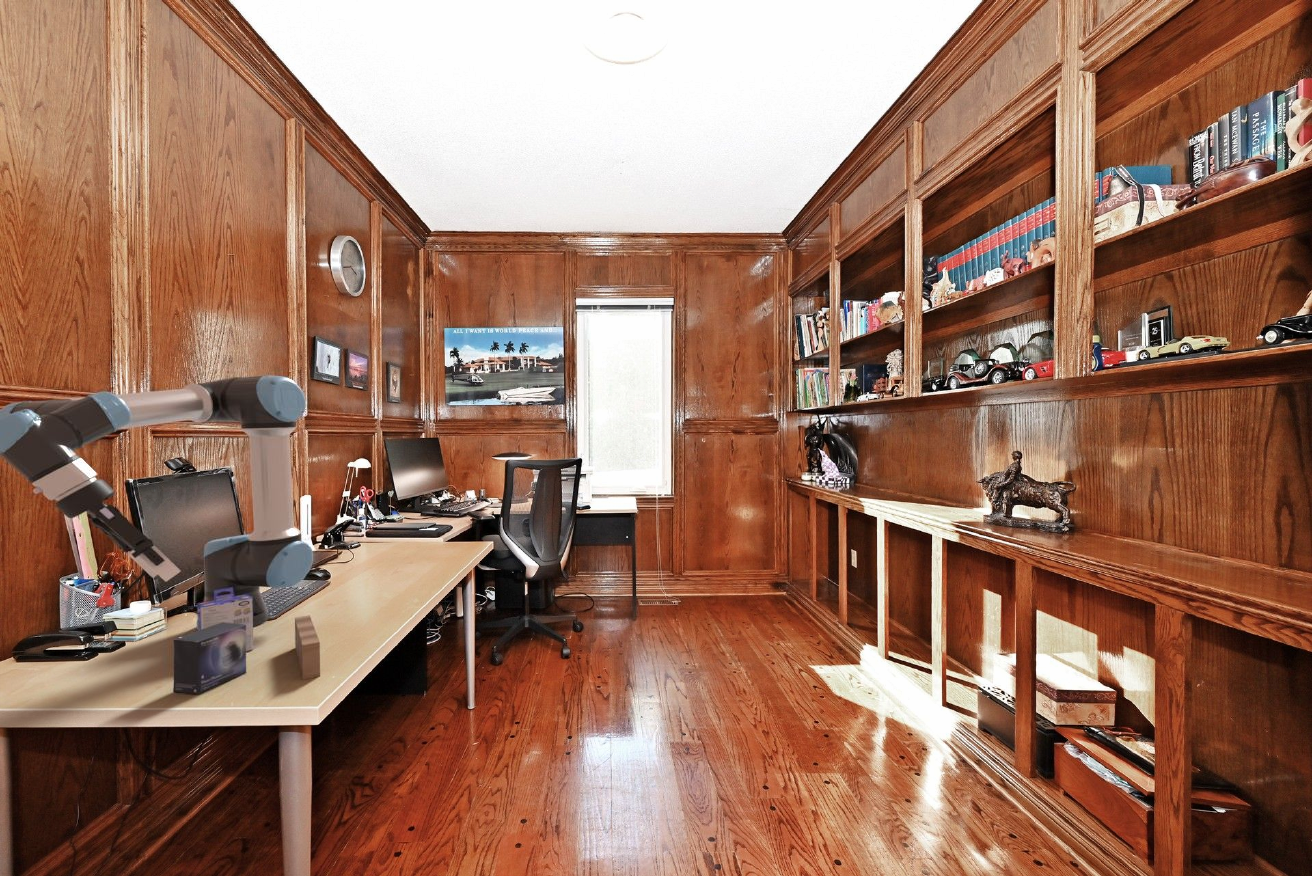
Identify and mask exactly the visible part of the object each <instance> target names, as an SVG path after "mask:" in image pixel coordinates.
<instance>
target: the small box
mask: <svg viewBox="0 0 1312 876" xmlns="http://www.w3.org/2000/svg"><path fill="white" fill-rule="evenodd" d="M172 641H173V690H172V692H173V693H180V694H181V693H182V694H191V695H200V694H202V693H205V692H207V691H209V690H212V689H214V688H216V687H218V686H220V685H223V684H225V683H228V682H229V681H231V680H234V679H237V678H238V677H240V676H243V675H246V674H247V651H246V625H245V624H234V623H226V622H222V623H219V624H216V625H213V626H210V627H207V628H204V629H201V630H198V631H197V630H196V631H193V632H189V633H187V634H184V635H181V636H178V637H175V638H173V640H172Z"/></svg>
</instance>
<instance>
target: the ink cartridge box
mask: <svg viewBox="0 0 1312 876" xmlns="http://www.w3.org/2000/svg"><path fill="white" fill-rule="evenodd" d="M224 591H228V592H230V594H227V595H221V596H217V594H218V593H221V592H224ZM196 611H197V612H196V616H197V620H198V630H201V629H204V628H207V627H210V626H213V625H216V624H219V623H222V622H226V623H234V624H245V625H246V652H249V651H252V650H254V627H253V610H252V597H251V596H249V595H248V594H244V595H239V596H235V595H234V592H233V587H231V588H225V589H219V590H214V600H213V601H208V602H204V601H203V602H198V603H196Z"/></svg>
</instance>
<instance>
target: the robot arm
mask: <svg viewBox="0 0 1312 876" xmlns="http://www.w3.org/2000/svg"><path fill="white" fill-rule="evenodd" d="M306 403H307V401H306V396H305V394H304V391H303V389H302V388H301V387H300V386H299V385H298V384H297V383H296V382H295V381H294V380H293V379H291V378H289V377H287V376H280V375H259V376H258V375H257V376H255V375H254V376H243V377H242V376H238V377H237V376H235V377H234V376H233V377H229V378H228V377H227V378H222V379H219V380H212V381H207V382H200V383H190V384H187V385H185V386H184V387H183V388H182V389H181V388H180V389H179V388H178V389H167V390H153V391H144V392H130V393H122V394H121V393H120V394H114V393H113V392H110V391H98V392H96V393H93V394H88V395H86V396H84V397H83V396H82V397H73V398H71V397H70V398H63V399H62V398H61V399H48V400H35V401H34V400H33V401H31V400H24V401H18V402H13V403H9V404H7V405H5V406H3V407H2V408H1V409H0V457H1V458H2V459H3V460H4V461H5V462H7V463H8V464H9V465H10V466H11V467H12V468H14V470H16V471H17V472H18V473H19V474H20V475H21V476H23V477H24V478H25V479H26V480H27V481H28V482H29V483H30V484H32V485H33V487H35V488H34V489H33V490H32V492H33V493H34V494H35V495H36V494H37V495H38V494H41V493H42V494H43V496H44V497H45V498H47V500H48V501H56V502H55V503H54V504H55V505H54V507H56V508H57V509H58V510H59V511H60V512H61V513H62V514H63V515H64V516H65V517H67V518H68V519H74V518H77V517H78V516H81V515H82V514H84V513H85V512H87V514H86V515H87V518H88V519H90V520H89V522H90V523H91V524H92V525H93V526H94V527H95V528H96V529H98V530H99V531H101V532H102V533H103V534H105V535H106V536H107V537H109V538H110V539H111V541H113V542H114V544H116V546H118V549H119V550H121V551H123V552H124V553H126V555H128V556H129V557H130V558H131V559H132V560H133V562H134V563H136V564H137V565H138V566H139V567H140V568H142V569H143V570H144V572H146V573H147V574H148V575H149V576H150V577H151V578H152V579H153V578H155V577H157V576H159V577H160V578H161V579H162V580H163V581H164V582H168V581H169V580H171V579H172V578H174V577H175V576H176V575H178V574H179V573H180V572H182V570H181V569H180V568H179V567H177V566H176V564H175V563H173V562H172V561H171V560H170V559H169V558H168V557H167V556H166V554H164V553H163V552H162V551H161V550H160V549H159V548H158V547H156V546H155V545H154V542H153V540H152V539H150V538H148V537H147V536H146V535H145V534H144V533H143V532H141V531H140V530H139V529H138V528H137V527H136V526H135V525H133V523H132V522H130V520H129V519H128V518H127V517H126V516H124V515H123V513H122V512H121V511H120V509H119V508H117V507H116V506H113V505H111V504H108V505H107V504H106V503H104V502H105V501H106V500H108V499H110V498H111V497H113V496H114V495H115V493H116V491H115V490H114V489H113V487H111V486H110V484H108V483H107V482H106V481H105V480H104V479H103V478H97V476H98V472H96V471H95V470H94V469H93V468H92V467H91V466H90V465H89V464H88V463H87V462H86V461H85V460H84V459H83V458H82V457H80V455H78V454H77V453H76V452H75V451H76V450H78V449H81V448H83V447H84V446H87V445H89V444H92V443H93V442H95V441H96V440H99V439H101V438H103V437H105V436H107V435H110V434H112V433H115V432H117V431H119V430H124V429H132V428H139V427H145V426H154V425H160V424H161V425H162V424H169V423H176V422H183V421H192V422H193V423H197V424H198V423H199V424H200V423H207V422H208V423H209V422H229V423H231V422H232V423H240V425H241V427H240V428H241V429H240V430H241V431H242V432H244V433H245V434H246V435H247V436H248V438H249V439H248V440H249V457H250V475H251V476H250V478H251V494H252V511H253V512H252V515H253V516H252V517H253V531H252V533H249V534H241V535H236V536H229V537H224V538H223V537H222V538H219V539H218V538H217V539H213V540H211V541H210V540H209V541H208V542H207V543H205V545H204V548H203V549H204V550H203V556H202V559H203V577H204V578H203V579H204V581H203V582H204V583H203V585H204V601H203V602H208V601H213V600H214V590H219V589H225V588H231V587H233V592H234V595H235V596H239V595H244V594H248V595H249V596H251V597H252V610H253V628H254V627H256V626H259V625H262V624H263V623H265V622H267V621H268V619H269V610H268V607H267V605H266V603H265V600H264V599H263V596H262V594H261V589H260V588H262V587H263V588H271V589H280V588H291V587H294V586H296V585H298V584H299V583H300V582H302V581H303V580H304V579H305V578H306V576H307V574H309V572H310V570H311V569H312V565H313V563H314V562H313V561H314V552H313V551H314V550H313V548H312V547H311V546H310V545H309V543H307V542H305V541H303V539H302V531H301V530H300V529H298V528H297V527H296V526H295V519H294V516H295V515H294V498H293V497H294V496H293V479H292V478H293V477H292V459H291V455H292V454H291V441H290V436H291V434H292V433H293V432H294V431H295V430H296V429H297V424H296V423H297V422H296V421H298V420H300V419H301V418H302V417H303V414H304V413H305V412H306V408H307V404H306ZM227 594H230V592H228V591H224V592H221V593H218V594H217V596H221V595H227ZM196 631H198V619H197V620H196Z"/></svg>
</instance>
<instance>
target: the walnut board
mask: <svg viewBox="0 0 1312 876" xmlns="http://www.w3.org/2000/svg"><path fill="white" fill-rule="evenodd" d="M294 642H295V643H294V645H295V646H294V647H295V652H296V657H297V660H298V663H299V668H300V672H301V677H302V680H303V681H304V680H308V678H309V679H314V678H318V677H321V646H320V644H321V642H320V639H319V637H318V634H317V630H316V629H315V626H314V623H313V620H312V617H311V615H303V616H296V617H294Z"/></svg>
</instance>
